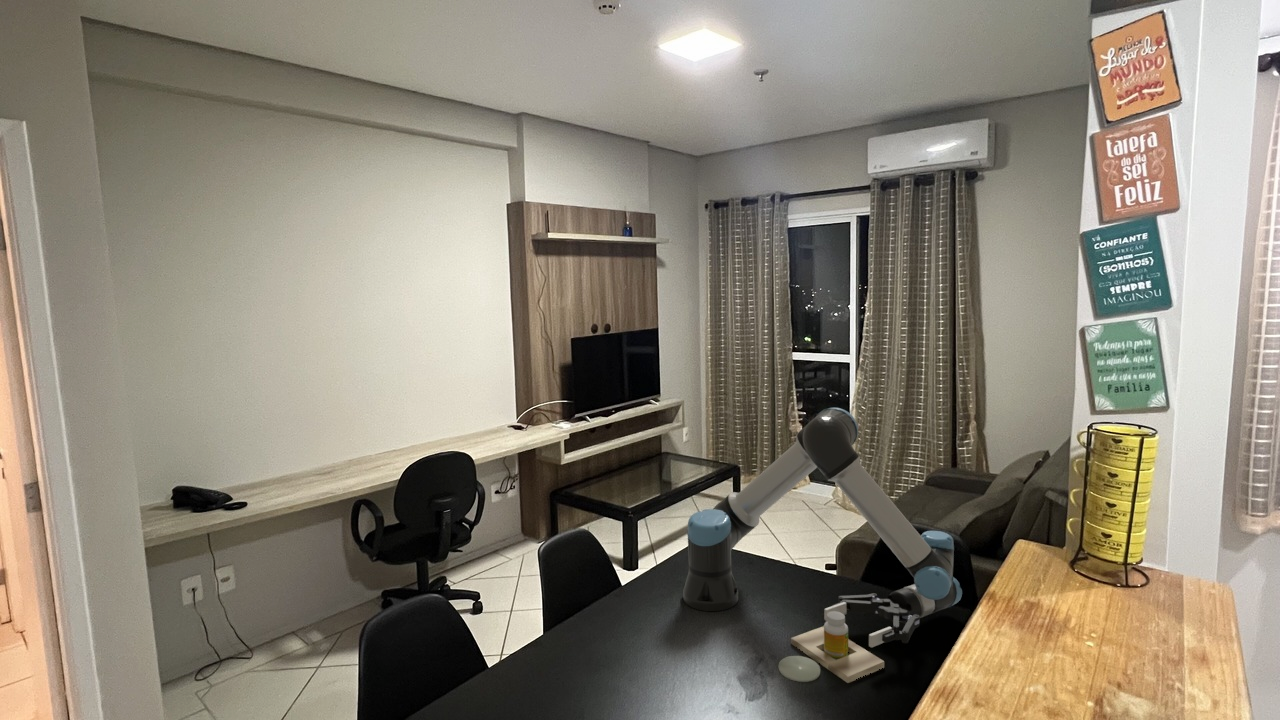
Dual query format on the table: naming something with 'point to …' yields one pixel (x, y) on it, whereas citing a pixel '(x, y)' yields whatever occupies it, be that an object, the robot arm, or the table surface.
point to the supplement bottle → (836, 635)
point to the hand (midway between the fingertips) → (846, 627)
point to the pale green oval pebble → (799, 668)
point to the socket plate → (845, 667)
